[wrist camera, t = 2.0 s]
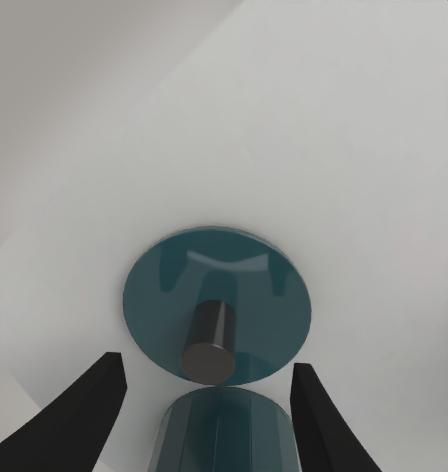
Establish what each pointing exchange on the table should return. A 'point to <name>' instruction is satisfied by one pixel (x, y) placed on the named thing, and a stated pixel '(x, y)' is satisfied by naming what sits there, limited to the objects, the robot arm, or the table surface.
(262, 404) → the tin
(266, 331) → the tin lid
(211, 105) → the table surface
